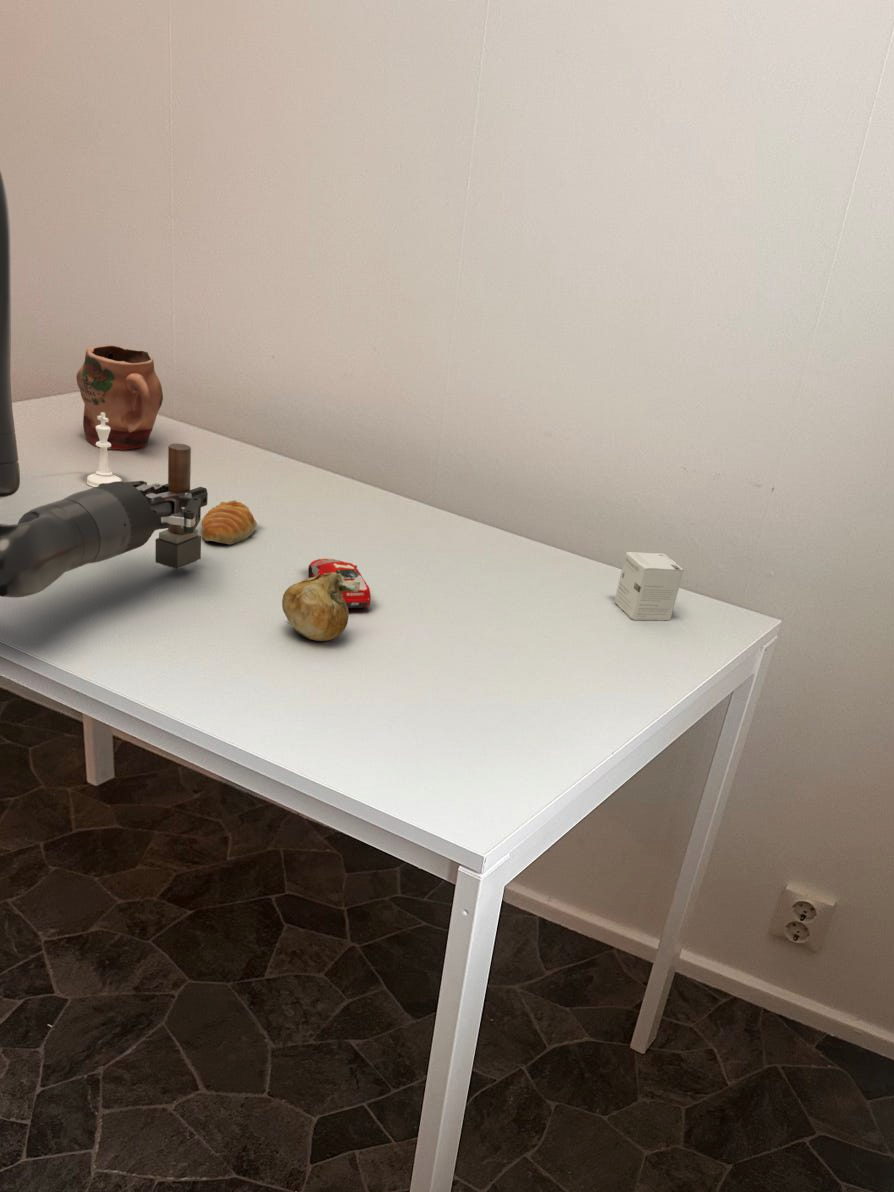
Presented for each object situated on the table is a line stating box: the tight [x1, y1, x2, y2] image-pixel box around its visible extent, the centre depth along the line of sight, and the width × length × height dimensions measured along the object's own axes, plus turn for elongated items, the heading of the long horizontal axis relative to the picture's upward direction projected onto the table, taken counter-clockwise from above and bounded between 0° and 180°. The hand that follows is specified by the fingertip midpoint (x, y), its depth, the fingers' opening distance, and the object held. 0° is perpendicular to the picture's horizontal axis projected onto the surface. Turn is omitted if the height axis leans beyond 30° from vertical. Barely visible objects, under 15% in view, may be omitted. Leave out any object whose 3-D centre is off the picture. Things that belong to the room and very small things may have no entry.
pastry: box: [201, 500, 258, 545], centre depth 160 cm, size 9×7×4 cm
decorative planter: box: [75, 344, 164, 450], centre depth 184 cm, size 20×12×14 cm, turn 42°
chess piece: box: [86, 412, 122, 488], centre depth 169 cm, size 5×5×10 cm
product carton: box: [614, 551, 684, 621], centre depth 159 cm, size 6×6×7 cm
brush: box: [155, 443, 202, 570], centre depth 143 cm, size 5×3×14 cm, turn 157°
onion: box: [281, 572, 360, 642], centre depth 135 cm, size 8×8×8 cm
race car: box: [307, 558, 372, 609], centre depth 149 cm, size 13×5×4 cm, turn 22°
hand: (193, 492), depth 145 cm, fingers closed on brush, 2 cm apart
